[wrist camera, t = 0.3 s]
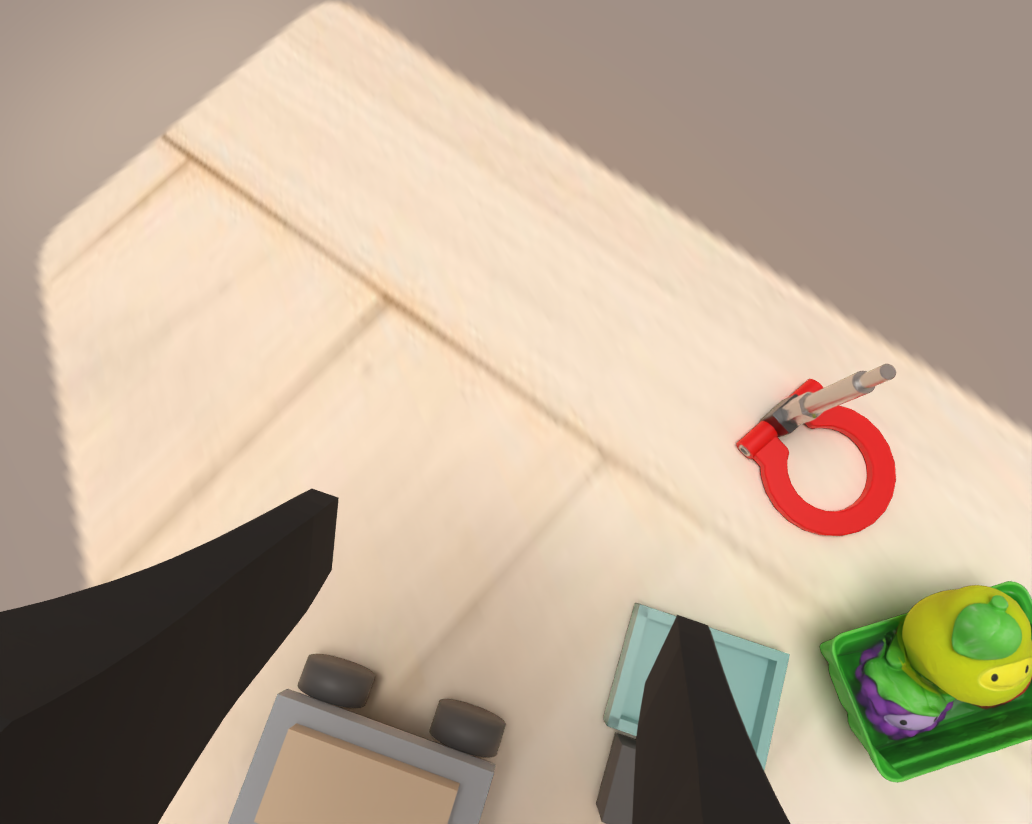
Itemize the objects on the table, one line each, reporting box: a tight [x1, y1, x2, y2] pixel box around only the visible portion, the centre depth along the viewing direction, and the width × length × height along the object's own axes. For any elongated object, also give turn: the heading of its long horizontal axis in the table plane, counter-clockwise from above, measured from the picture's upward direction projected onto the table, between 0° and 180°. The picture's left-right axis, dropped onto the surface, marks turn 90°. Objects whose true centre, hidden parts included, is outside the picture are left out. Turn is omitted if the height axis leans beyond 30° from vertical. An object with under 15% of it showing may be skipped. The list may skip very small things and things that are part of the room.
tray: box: [603, 603, 790, 770], centre depth 39 cm, size 7×9×2 cm
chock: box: [596, 732, 636, 824], centre depth 37 cm, size 4×4×4 cm
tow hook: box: [737, 364, 896, 536], centre depth 36 cm, size 8×13×9 cm
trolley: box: [228, 654, 506, 824], centre depth 35 cm, size 12×10×7 cm
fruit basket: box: [820, 581, 1032, 782], centre depth 34 cm, size 11×9×11 cm
